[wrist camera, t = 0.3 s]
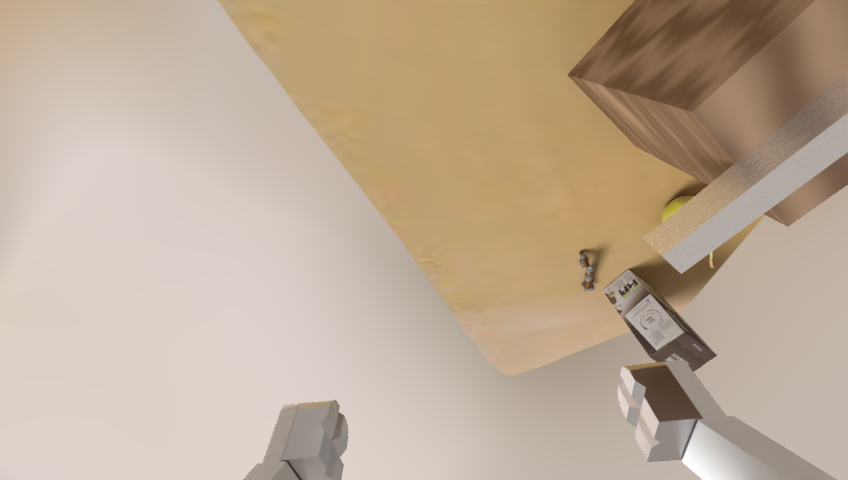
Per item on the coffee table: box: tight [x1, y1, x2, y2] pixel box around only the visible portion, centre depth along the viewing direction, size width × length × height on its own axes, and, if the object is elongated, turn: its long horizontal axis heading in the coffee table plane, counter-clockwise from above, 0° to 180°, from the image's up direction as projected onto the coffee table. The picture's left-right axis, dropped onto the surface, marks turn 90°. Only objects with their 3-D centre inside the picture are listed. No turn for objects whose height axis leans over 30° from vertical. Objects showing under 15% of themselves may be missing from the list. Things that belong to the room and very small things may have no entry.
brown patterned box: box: [568, 0, 848, 226], centre depth 39 cm, size 14×17×26 cm
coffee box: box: [603, 270, 717, 372], centre depth 63 cm, size 9×6×16 cm
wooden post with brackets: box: [579, 252, 595, 292], centre depth 66 cm, size 2×8×4 cm, turn 21°
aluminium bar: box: [642, 72, 848, 274], centre depth 29 cm, size 22×3×3 cm, turn 141°
